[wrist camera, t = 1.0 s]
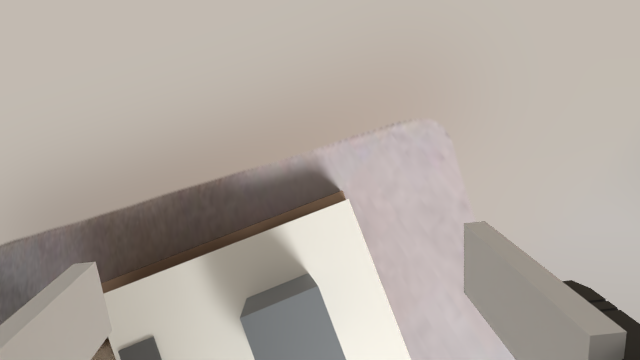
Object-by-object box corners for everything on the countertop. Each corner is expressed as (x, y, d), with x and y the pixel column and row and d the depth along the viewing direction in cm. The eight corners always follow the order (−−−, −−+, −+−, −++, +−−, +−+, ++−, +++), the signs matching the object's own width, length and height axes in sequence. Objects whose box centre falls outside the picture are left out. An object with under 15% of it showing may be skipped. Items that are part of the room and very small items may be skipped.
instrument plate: (406, 355, 40) (447, 395, 30) (160, 467, 36) (122, 551, 27) (345, 199, 41) (367, 192, 31) (101, 294, 37) (44, 318, 28)
